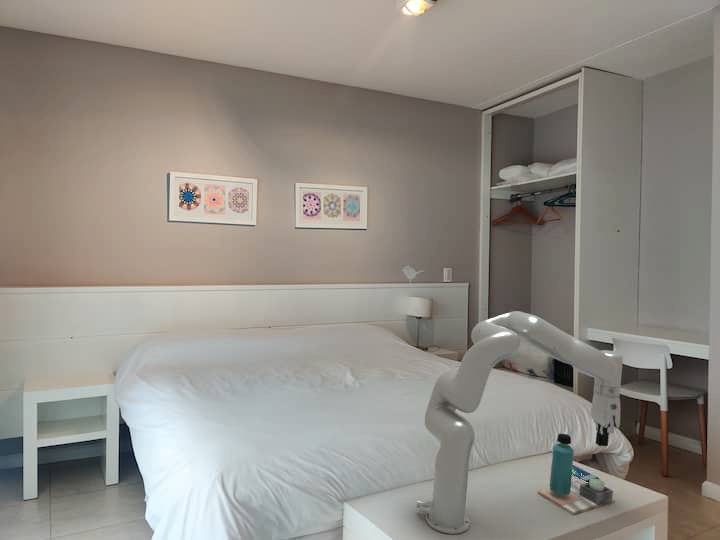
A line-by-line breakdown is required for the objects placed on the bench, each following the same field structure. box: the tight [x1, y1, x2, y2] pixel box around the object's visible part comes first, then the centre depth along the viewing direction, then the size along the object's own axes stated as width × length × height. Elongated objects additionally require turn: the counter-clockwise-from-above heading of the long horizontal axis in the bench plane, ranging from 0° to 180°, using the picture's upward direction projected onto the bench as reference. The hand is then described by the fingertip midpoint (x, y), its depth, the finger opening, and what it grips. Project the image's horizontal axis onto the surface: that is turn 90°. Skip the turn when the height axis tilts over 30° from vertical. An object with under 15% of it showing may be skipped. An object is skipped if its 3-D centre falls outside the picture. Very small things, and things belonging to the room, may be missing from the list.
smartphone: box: [572, 464, 600, 483], centre depth 187 cm, size 7×1×15 cm
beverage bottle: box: [549, 433, 575, 495], centre depth 167 cm, size 6×7×20 cm
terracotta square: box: [538, 487, 581, 506], centre depth 167 cm, size 9×9×1 cm
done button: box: [589, 478, 605, 493], centre depth 167 cm, size 4×4×3 cm
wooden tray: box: [537, 480, 616, 516], centre depth 168 cm, size 20×14×4 cm
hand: (601, 444), depth 166 cm, fingers closed
